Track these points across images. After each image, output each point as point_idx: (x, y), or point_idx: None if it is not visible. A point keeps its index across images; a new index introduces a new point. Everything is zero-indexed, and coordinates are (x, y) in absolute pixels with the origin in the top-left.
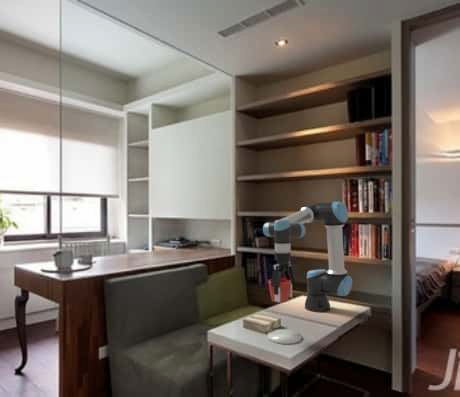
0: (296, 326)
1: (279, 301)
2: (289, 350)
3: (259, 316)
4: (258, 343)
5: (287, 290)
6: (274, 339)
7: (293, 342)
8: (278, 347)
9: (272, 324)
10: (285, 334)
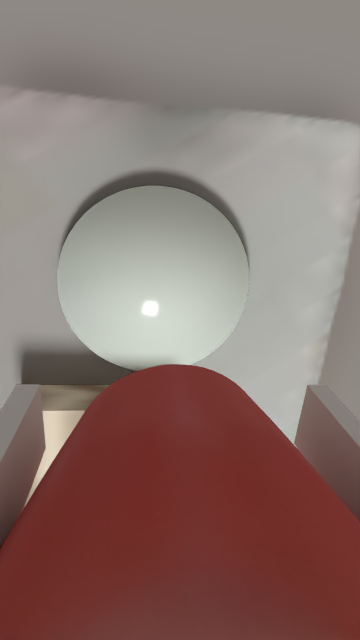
0: None
1: (328, 387)
2: (297, 173)
3: None
4: (292, 342)
5: (232, 442)
6: (238, 299)
7: (204, 200)
8: (289, 241)
9: None
10: (141, 290)
